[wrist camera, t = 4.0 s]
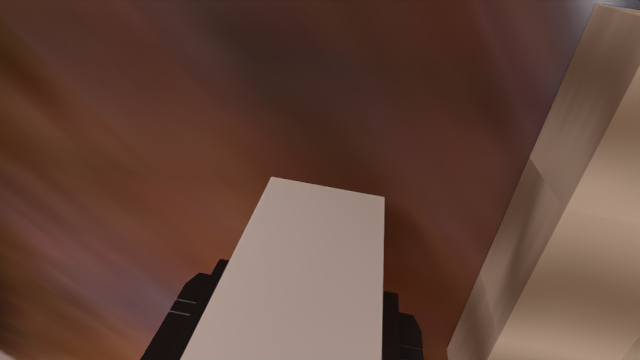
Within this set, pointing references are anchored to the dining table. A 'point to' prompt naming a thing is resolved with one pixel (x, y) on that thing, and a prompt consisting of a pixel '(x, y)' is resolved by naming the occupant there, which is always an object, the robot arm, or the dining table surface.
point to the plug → (300, 280)
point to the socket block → (571, 220)
